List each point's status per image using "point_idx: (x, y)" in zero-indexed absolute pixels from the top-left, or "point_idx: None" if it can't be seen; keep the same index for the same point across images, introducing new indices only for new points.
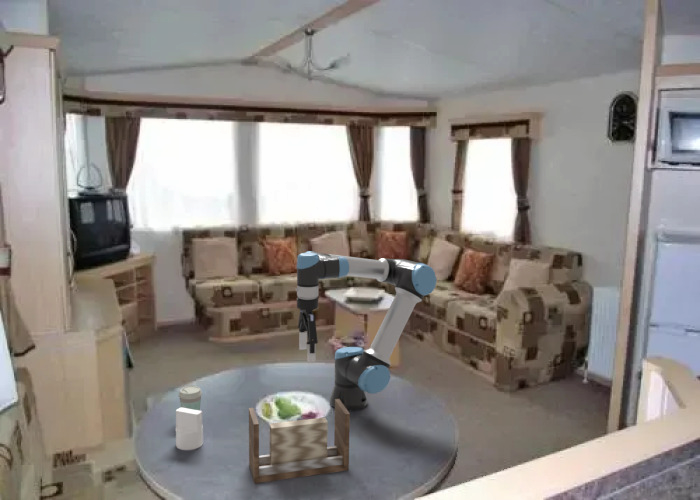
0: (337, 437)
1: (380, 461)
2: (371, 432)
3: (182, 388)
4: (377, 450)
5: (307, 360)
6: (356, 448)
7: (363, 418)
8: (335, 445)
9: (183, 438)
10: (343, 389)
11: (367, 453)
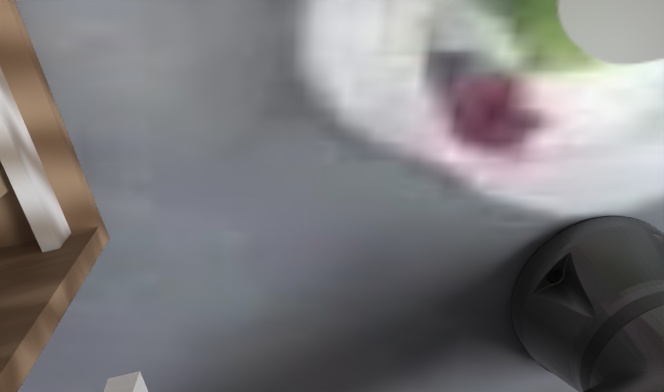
0: (12, 282)
1: (48, 383)
2: (296, 366)
3: None
4: None
5: (129, 383)
6: (151, 307)
7: (429, 344)
8: (68, 245)
9: None
10: (590, 326)
11: (110, 344)
